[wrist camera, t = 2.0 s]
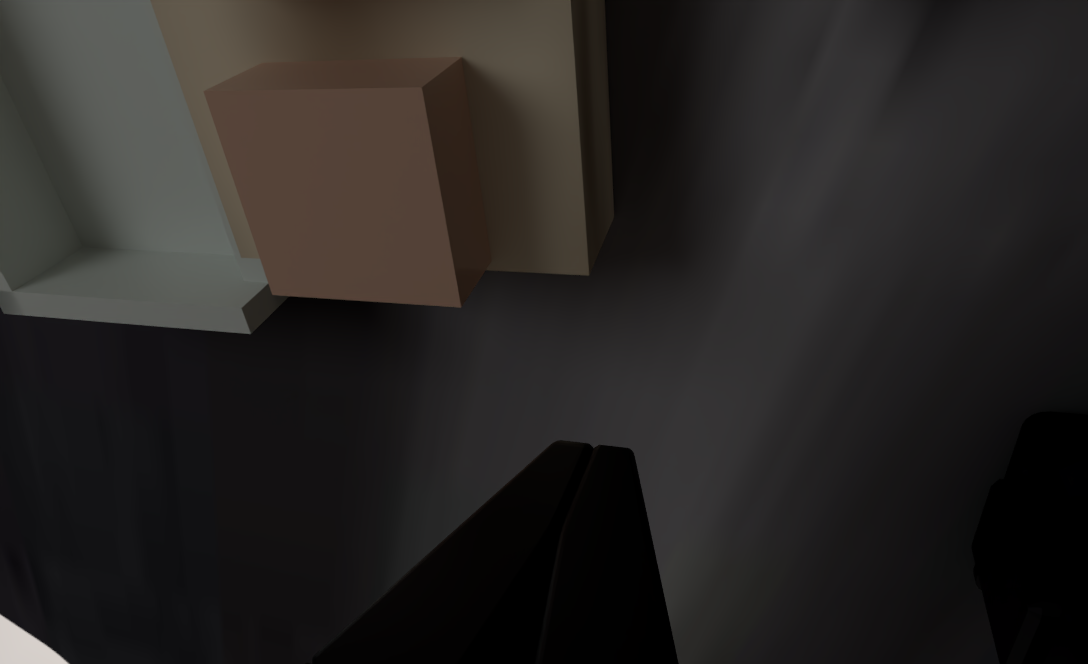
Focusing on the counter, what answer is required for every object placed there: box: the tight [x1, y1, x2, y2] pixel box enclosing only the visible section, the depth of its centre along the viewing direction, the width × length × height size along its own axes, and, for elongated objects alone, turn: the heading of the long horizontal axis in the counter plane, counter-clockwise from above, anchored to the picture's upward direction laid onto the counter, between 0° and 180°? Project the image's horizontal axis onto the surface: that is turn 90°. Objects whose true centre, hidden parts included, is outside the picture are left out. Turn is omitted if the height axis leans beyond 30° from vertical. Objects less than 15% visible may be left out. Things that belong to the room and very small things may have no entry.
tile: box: [203, 57, 492, 307], centre depth 16 cm, size 4×4×2 cm
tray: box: [0, 0, 289, 334], centre depth 18 cm, size 8×15×4 cm, turn 5°
